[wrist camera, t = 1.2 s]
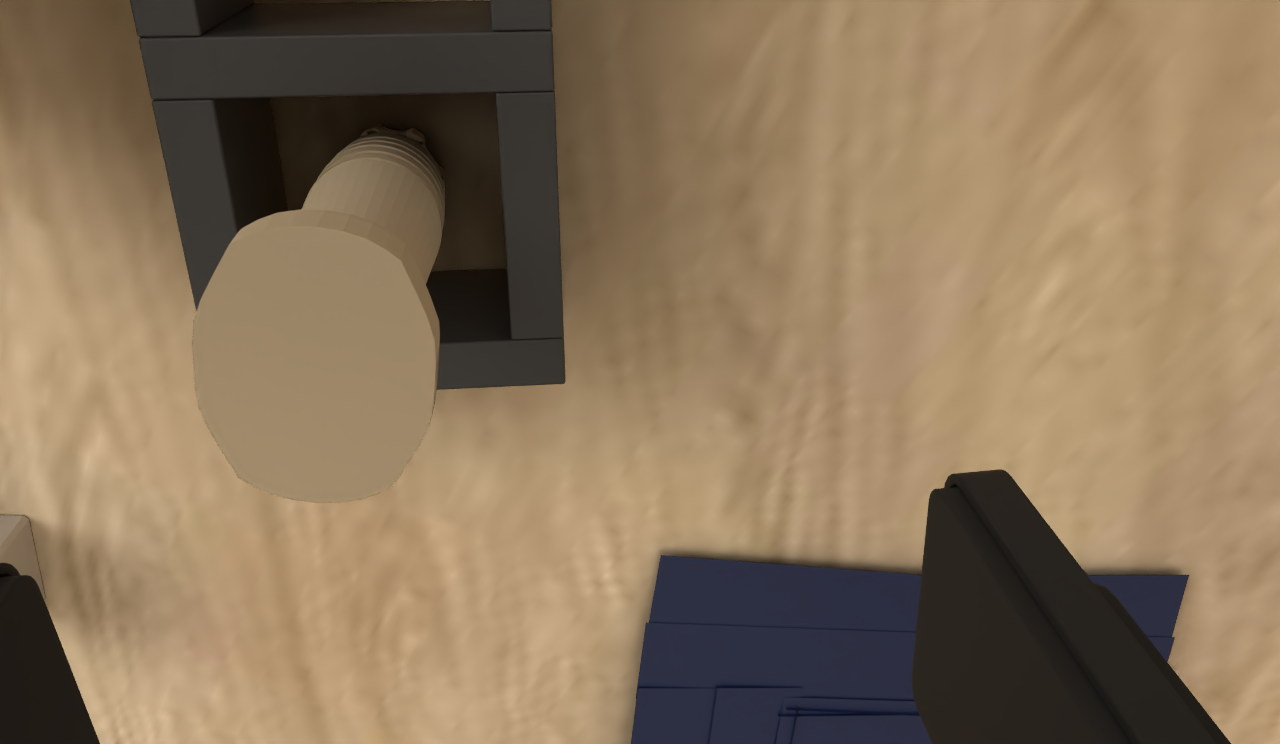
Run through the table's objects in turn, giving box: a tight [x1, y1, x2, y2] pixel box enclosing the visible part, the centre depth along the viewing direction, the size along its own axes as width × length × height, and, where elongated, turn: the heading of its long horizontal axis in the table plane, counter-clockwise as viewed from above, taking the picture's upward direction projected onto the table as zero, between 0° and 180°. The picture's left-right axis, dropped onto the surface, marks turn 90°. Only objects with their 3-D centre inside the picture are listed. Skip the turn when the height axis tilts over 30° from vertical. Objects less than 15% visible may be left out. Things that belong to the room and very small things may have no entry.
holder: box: [130, 0, 565, 390], centre depth 30 cm, size 20×11×6 cm, turn 0°
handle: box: [192, 125, 445, 503], centre depth 28 cm, size 5×6×15 cm
